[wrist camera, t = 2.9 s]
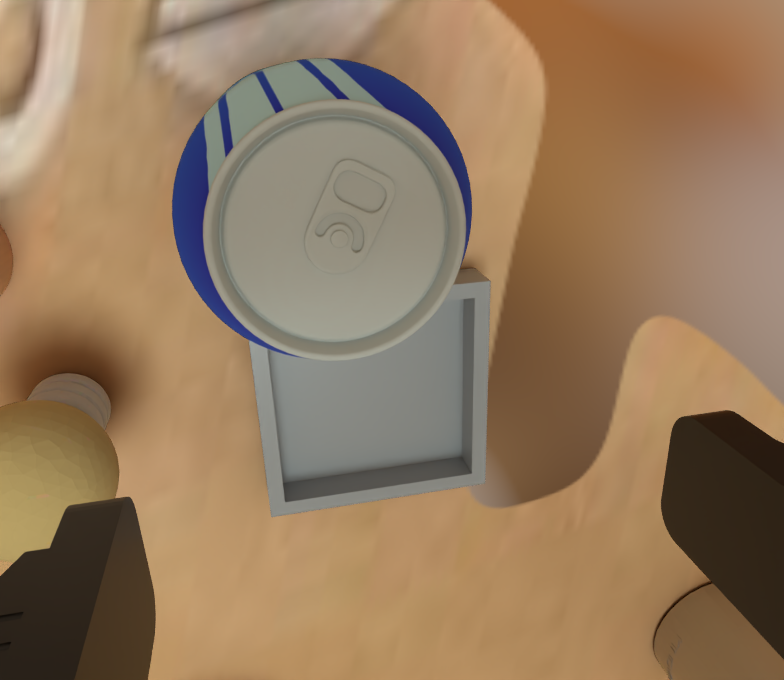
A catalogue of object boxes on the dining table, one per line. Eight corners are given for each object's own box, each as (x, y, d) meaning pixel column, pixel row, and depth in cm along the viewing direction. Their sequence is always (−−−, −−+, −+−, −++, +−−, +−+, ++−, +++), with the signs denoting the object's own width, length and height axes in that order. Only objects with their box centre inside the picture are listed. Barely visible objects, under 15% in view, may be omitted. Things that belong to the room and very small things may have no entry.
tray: (474, 268, 35) (490, 281, 32) (471, 460, 39) (485, 483, 37) (244, 289, 32) (244, 305, 30) (269, 491, 37) (271, 517, 35)
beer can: (408, 202, 33) (542, 306, 18) (257, 278, 32) (269, 443, 18) (335, 32, 29) (427, -10, 14) (164, 115, 29) (85, 157, 14)
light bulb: (-23, 420, 32) (-127, 557, 23) (43, 318, 31) (-40, 420, 22) (100, 476, 35) (50, 619, 25) (165, 383, 33) (136, 498, 24)
